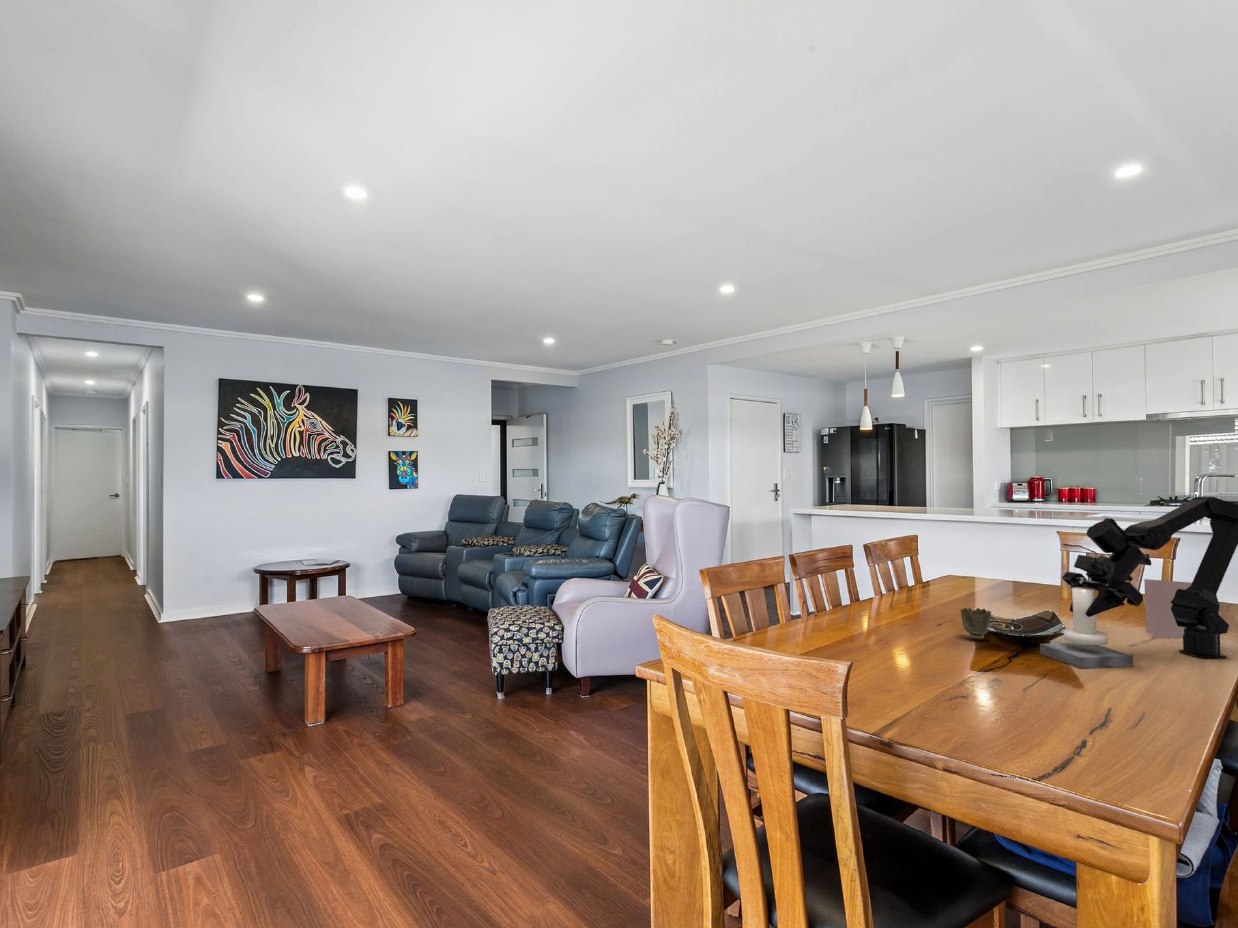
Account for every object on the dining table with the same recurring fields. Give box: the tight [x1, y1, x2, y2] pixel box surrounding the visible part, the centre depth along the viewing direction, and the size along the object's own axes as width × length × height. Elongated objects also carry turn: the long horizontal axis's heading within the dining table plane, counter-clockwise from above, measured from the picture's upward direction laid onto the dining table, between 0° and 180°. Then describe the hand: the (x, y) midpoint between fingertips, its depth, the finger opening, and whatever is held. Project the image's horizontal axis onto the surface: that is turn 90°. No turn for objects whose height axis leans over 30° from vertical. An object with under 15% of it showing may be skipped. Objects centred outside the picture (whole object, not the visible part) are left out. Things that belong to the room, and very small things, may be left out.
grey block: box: [1039, 642, 1134, 669], centre depth 161 cm, size 13×13×2 cm
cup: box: [960, 607, 992, 641], centre depth 182 cm, size 8×7×8 cm
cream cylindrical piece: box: [1063, 587, 1108, 646], centre depth 161 cm, size 8×8×12 cm
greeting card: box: [1144, 578, 1192, 639], centre depth 182 cm, size 11×7×15 cm, turn 46°
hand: (1078, 613), depth 161 cm, fingers closed on cream cylindrical piece, 4 cm apart
